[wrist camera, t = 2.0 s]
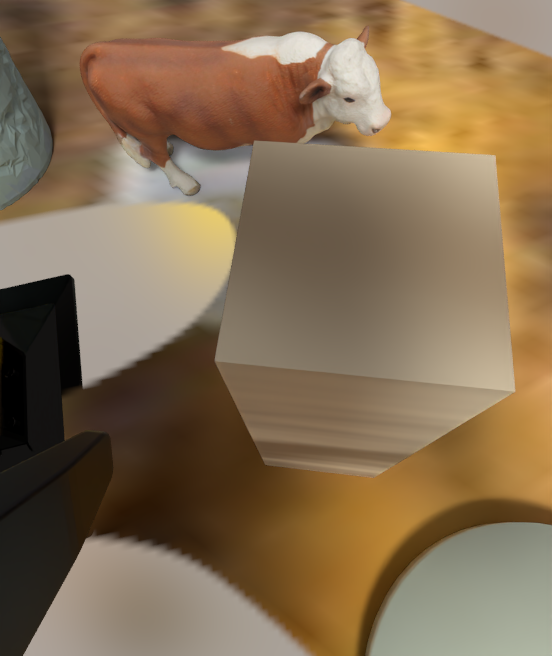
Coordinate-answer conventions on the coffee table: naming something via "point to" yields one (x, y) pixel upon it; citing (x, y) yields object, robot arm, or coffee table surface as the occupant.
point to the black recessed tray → (36, 365)
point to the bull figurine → (230, 92)
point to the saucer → (472, 596)
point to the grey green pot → (20, 134)
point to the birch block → (364, 303)
